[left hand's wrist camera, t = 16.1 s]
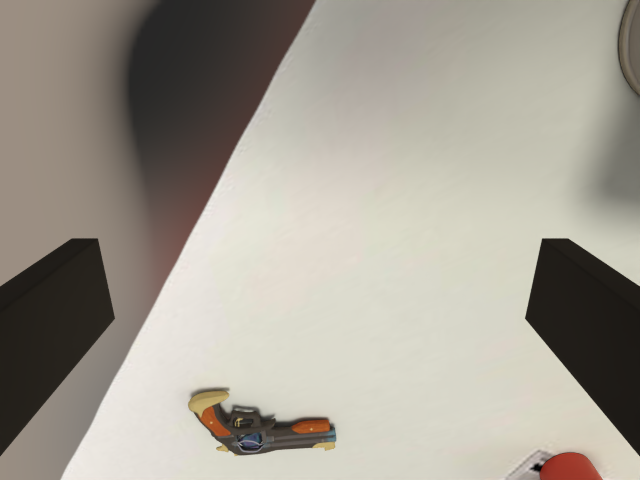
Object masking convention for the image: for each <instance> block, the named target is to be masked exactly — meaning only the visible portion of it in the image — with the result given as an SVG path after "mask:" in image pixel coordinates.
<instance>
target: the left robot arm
mask: <svg viewBox="0 0 640 480" xmlns="http://www.w3.org/2000/svg"><path fill="white" fill-rule="evenodd" d="M619 56H620V62H621V66H622V70H623V73H624V75H625V77H626V79H627V81H628V83H629V84H630V86H631V87H632V89H633V90H634V91H635V92H636V93H637V94H638V95H639V96H640V0H630V1H629V3H628V6H627V8H626V11H625V14H624V17H623V20H622V25H621V29H620V36H619ZM114 319H115V317H114V312H113V307H112V303H111V298H110V293H109V289H108V284H107V279H106V275H105V270H104V265H103V261H102V256H101V251H100V246H99V242H98V239H70V240H69V241H67V242H66V243H64V244H63V245H62V246H60V247H58V248H57V249H55V250H54V251H53V252H51V253H50V254H48V255H46V256H45V257H43V258H42V259H41V260H39V261H38V262H36V263H35V264H33V265H32V266H30V267H29V268H27V269H26V270H24V271H23V272H21V273H20V274H18V275H17V276H15V277H14V278H12V279H11V280H9V281H8V282H6V283H5V284H3V285H2V286H0V456H1V455H2V454H3V452H4V451H5V450H6V449H7V447H8V446H9V445H10V444H11V443H12V442H13V440H14V439H15V438H16V437H17V436H18V434H19V433H20V432H21V431H22V429H23V428H24V427H25V426H26V425H27V424H28V422H29V421H30V420H31V419H32V417H33V416H34V415H35V414H36V413H37V412H38V410H39V409H40V408H41V407H42V405H43V404H44V403H45V402H46V401H47V399H48V398H49V397H50V396H51V395H52V393H53V392H54V391H55V390H56V389H57V387H58V386H59V385H60V384H61V383H62V381H63V380H64V379H65V378H66V377H67V375H68V374H69V373H70V372H71V371H72V369H73V368H74V367H75V366H76V365H77V363H78V362H79V361H80V360H81V359H82V357H83V356H84V355H85V354H86V353H87V351H88V350H89V349H90V348H91V347H92V345H93V344H94V343H95V342H96V341H97V339H98V338H99V337H100V336H101V335H102V333H103V332H104V331H105V330H106V329H107V327H108V326H109V325H110V324H111V323H112V321H113V320H114ZM525 319H526V320H527V321H528V323H529V324H530V325H531V326H532V327H533V329H534V330H535V331H536V332H537V333H538V335H539V336H540V337H541V338H542V339H543V341H544V342H545V343H546V344H547V345H548V347H549V348H550V349H551V350H552V351H553V353H554V354H555V355H556V356H557V357H558V359H559V360H560V361H561V362H562V363H563V365H564V366H565V367H566V368H567V369H568V371H569V372H570V373H571V374H572V375H573V377H574V378H575V379H576V380H577V381H578V383H579V384H580V385H581V386H582V387H583V389H584V390H585V391H586V392H587V393H588V395H589V396H590V397H591V398H592V399H593V401H594V402H595V403H596V404H597V406H598V407H599V408H600V409H601V410H602V412H603V413H604V414H605V415H606V416H607V418H608V419H609V420H610V421H611V422H612V424H613V425H614V426H615V427H616V428H617V430H618V431H619V432H620V433H621V434H622V436H623V437H624V438H625V439H626V440H627V442H628V443H629V444H630V445H631V446H632V448H633V449H634V450H635V451H636V452H637V454H638V455H639V456H640V286H638V285H637V284H635V283H634V282H632V281H631V280H629V279H628V278H626V277H625V276H623V275H622V274H620V273H619V272H617V271H616V270H614V269H613V268H611V267H610V266H608V265H607V264H605V263H604V262H602V261H601V260H599V259H598V258H596V257H595V256H594V255H592V254H591V253H589V252H588V251H586V250H585V249H583V248H582V247H580V246H579V245H577V244H576V243H574V242H573V241H571V240H570V239H542V242H541V246H540V251H539V256H538V261H537V265H536V270H535V275H534V279H533V284H532V289H531V293H530V298H529V303H528V307H527V312H526V317H525Z"/></svg>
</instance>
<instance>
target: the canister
mask: <svg viewBox="0 0 640 480" xmlns="http://www.w3.org/2000/svg"><path fill="white" fill-rule="evenodd" d="M540 479H541V480H603V479H602V478H601V476H600V475H599V473H598V472H597V471H596V469H595V468H594V466H593V465H592V463H591V462H590V460H589V459H588V458H587V457H585V456H583V455H581V454H578V453H564V454H560V455H557V456H555V457H553V458H551V459H549V460H548V461H547V462H546V463H545V464H544V465H543V467H542V468H541V471H540Z"/></svg>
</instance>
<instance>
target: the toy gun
mask: <svg viewBox="0 0 640 480" xmlns="http://www.w3.org/2000/svg"><path fill="white" fill-rule="evenodd" d="M228 397H229V393H228V392H225V391H213V392H204V393H200V394H197V395H195V396H194V397H192V398H191V399H190V401H189V403H188V406H189V409H190V410H191V411H193V412H194V414H195V415H196V417H197V418H198V420H199V421H200V422H201V423H202V424H203V425H204V426H205V427H206V428H207V429H208V430H209V431H210V432H211V435H212V436H213V437H214V438H215V439H216V440H217V441H219V442H221V443H222V446H220V447H217V448H216V449H217V450H218V451H225V452H228V451H232V452H233V453H234V455H235V456H238V455H253V454H262V453H267V452H271V451H274V450H282V449H298V448H322V447H325V451H326V450H330V449H334V448H335V442H334V441H336V434H335V428H332V427H330V425H329V421H328V420H314V421H302V422H299V423H297V424H295V425H293V426H291V427H273V426H274V425H275V418H274V419H271V420H268V421H264V422H261V420H260V415H259V414H258V413H257V412H241V411H236V410H233V411H232V413H231V419H230V420H227V419H226V418H225V417H224V416H223V414H222V413H221V411H220V408H219V403H220V402H222V401H224V400H225V399H227V398H228ZM235 417H237V420H236V422H237V421H238V424H236V422H235V423H233V419H234V418H235ZM243 418H244V419H253V422H252V423H245V424H239V421H240V420H242V419H243ZM244 434H246V435H245V436H244V437H242V438H241V439H240V438H239V437H240V435H244ZM238 435H239V436H238ZM261 442H262V443H261ZM239 443H240V444H242V445H243V446H241V445H239Z"/></svg>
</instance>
